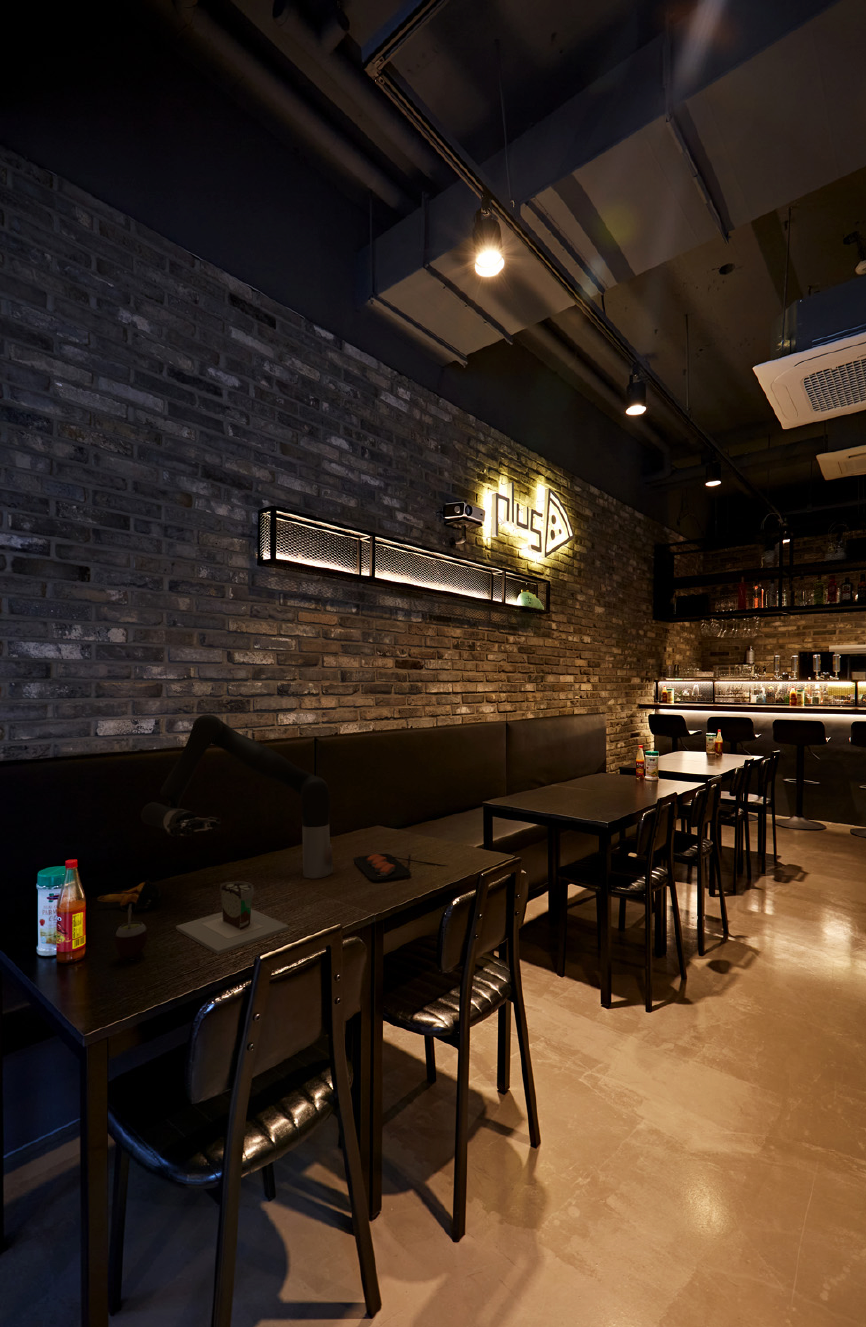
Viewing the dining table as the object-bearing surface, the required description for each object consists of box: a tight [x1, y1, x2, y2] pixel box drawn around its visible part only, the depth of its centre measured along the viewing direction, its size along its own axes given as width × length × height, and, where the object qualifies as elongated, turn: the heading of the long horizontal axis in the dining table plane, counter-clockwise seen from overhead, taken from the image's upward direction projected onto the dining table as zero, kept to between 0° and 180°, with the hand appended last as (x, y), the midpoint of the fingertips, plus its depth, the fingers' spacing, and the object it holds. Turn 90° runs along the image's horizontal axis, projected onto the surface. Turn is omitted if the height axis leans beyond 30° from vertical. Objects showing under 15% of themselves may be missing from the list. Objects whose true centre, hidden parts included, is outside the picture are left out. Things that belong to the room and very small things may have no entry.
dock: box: [175, 908, 290, 956], centre depth 164 cm, size 20×24×1 cm
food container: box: [219, 880, 255, 930], centre depth 166 cm, size 12×6×10 cm, turn 46°
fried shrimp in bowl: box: [97, 879, 163, 912], centre depth 182 cm, size 9×11×18 cm
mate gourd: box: [114, 904, 148, 965], centre depth 148 cm, size 8×8×15 cm
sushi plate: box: [353, 853, 448, 881], centre depth 217 cm, size 29×30×4 cm
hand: (205, 829), depth 175 cm, fingers open, 8 cm apart
